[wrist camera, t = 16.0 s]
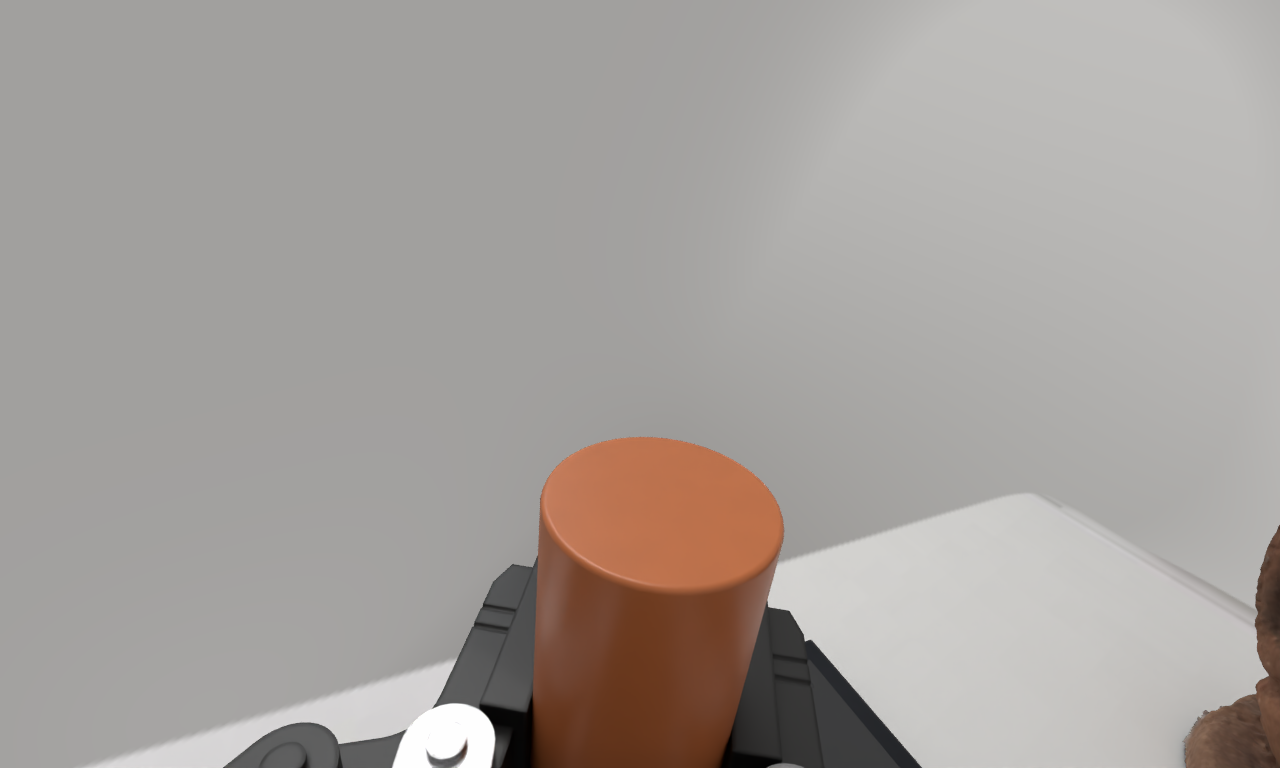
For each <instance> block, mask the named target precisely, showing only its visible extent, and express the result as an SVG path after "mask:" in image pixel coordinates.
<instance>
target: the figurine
mask: <svg viewBox="0 0 1280 768" xmlns="http://www.w3.org/2000/svg"><path fill="white" fill-rule="evenodd" d="M1260 570H1261V573H1260V576H1259V578H1258V586H1257V590H1258V591H1257V593H1256V604H1255V606H1256V609H1257V611H1258V615H1257V617H1256V619H1255V622H1256V623H1255V627H1256V629H1257V640H1258V643H1257V652H1258V655H1259V658H1260V660H1261V662H1262V665H1263V667H1264V668H1265V670H1266V671H1267V673H1268V674H1269V676H1268V677H1266V678H1264V679H1262V680H1260V681H1259V682H1258V683H1257V684H1256V691H1257V693H1256V694H1253V695H1248V696H1245V697H1243V698H1241V699H1239V700H1237V701H1236V702H1234V704H1233V705H1231V706H1223V707H1222V706H1220V707H1219V709H1218V710H1217V711H1211V712H1207V711H1206V710H1205V711H1204V712H1203V715H1202V717H1201V718H1199V717H1198V721H1196V724H1194V725H1195V726H1193V727H1192V729H1191V732H1189V733H1190V734H1189V735H1188V736H1187V737H1186V738H1185V740H1184V741H1183V742H1184V743H1185V747H1186V748H1185V750H1186V752H1185V755H1186V759H1185V763H1186V764H1187V765H1186V768H1280V525H1279V527H1278V530H1277V532H1276V534H1275V535H1274V536H1273V538H1272V540H1271V542H1270V544H1269V546H1268V548H1267V551H1266V554H1265V558H1264V562H1263V564H1262V567H1261V569H1260Z"/></svg>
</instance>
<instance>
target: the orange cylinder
mask: <svg viewBox="0 0 1280 768" xmlns="http://www.w3.org/2000/svg"><path fill="white" fill-rule="evenodd" d="M783 539H784V524H783V518H782V515H781V512H780V508H779V506H778V504H777V502H776V500H775V498H774V496H773V495H772V493H771V492H770V491H769V489H768V488H767V487H766V486H765V485H764V483H763V482H762V481H761V480H760V479H759V478H758V477H756V476H755V475H754V474H753V473H752V472H750V471H749V470H748V469H746V468H745V467H743V466H742V465H741V464H739V463H737V462H736V461H734V460H732V459H730V458H728V457H726V456H724V455H722V454H720V453H718V452H715V451H713V450H710V449H708V448H705V447H702V446H699V445H695V444H691V443H687V442H683V441H678V440H672V439H665V438H655V437H654V438H653V437H630V438H621V439H614V440H609V441H604V442H601V443H597V444H594V445H591V446H588V447H586V448H583V449H581V450H579V451H577V452H575V453H574V454H572V455H570V456H569V457H567V458H566V459H565V460H563V461H562V462H561V463H560V464H559V465H558V466H557V467H556V468H555V469H554V470H553V472H552V473H551V474H550V476H549V477H548V479H547V481H546V483H545V485H544V487H543V490H542V494H541V498H540V521H539V546H538V547H539V548H538V572H537V598H536V623H535V649H534V675H533V700H532V726H531V752H530V768H721V767H722V763H723V760H724V756H725V752H726V749H727V745H728V741H729V738H730V734H731V730H732V727H733V723H734V720H735V716H736V713H737V709H738V705H739V702H740V698H741V694H742V691H743V687H744V683H745V679H746V676H747V672H748V668H749V665H750V661H751V657H752V654H753V650H754V646H755V643H756V639H757V635H758V632H759V628H760V624H761V621H762V617H763V613H764V610H765V606H766V602H767V599H768V595H769V591H770V588H771V584H772V580H773V577H774V573H775V569H776V566H777V562H778V558H779V555H780V551H781V547H782V543H783Z"/></svg>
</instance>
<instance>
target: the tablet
mask: <svg viewBox="0 0 1280 768" xmlns="http://www.w3.org/2000/svg"><path fill="white" fill-rule="evenodd" d="M805 646H806V653H807V659H808V661H807V665H809V672H810V678H811V687H812V691H813V697H814V703H815V710H816V716H817V723H818V729H819V735H820V742H821V748H822V754H823V761H824V767H825V768H922V767H921V766H920V765H919V764H918V763H917V761H916V760H915V759H914V758H913V757H912V756H911V755H910V753H909V752H908V751H907V750H906V749H905V748H904V746H903V745H902V744H901V743H900V742H899V741H898V739H897V738H896V737H895V736H894V735H893V734H892V733H891V731H890V730H889V729H888V728H887V727H886V726H885V724H884V723H883V722H882V721H881V720H880V719H879V717H878V716H877V715H876V714H875V713H874V712H873V711H872V709H871V708H870V707H869V706H868V705H867V704H866V702H865V701H864V700H863V699H862V698H861V697H860V696H859V694H858V693H857V692H856V691H855V690H854V689H853V687H852V686H851V685H850V684H849V683H848V682H847V680H846V679H845V678H844V677H843V676H842V675H841V674H840V672H839V671H838V670H837V669H836V668H835V667H834V665H833V664H832V663H831V662H830V661H829V660H828V658H827V657H826V656H825V655H824V654H823V653H822V652H821V650H820V649H819V648H818V647H817V646H816V645H815V643H814V642H813V641H812V640H808V641H806V642H805Z"/></svg>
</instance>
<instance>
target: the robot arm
mask: <svg viewBox="0 0 1280 768" xmlns="http://www.w3.org/2000/svg"><path fill="white" fill-rule="evenodd" d="M537 572H538V556H537V558H536V561H535V564H534V566H533V568H532V567H526V566H520V565H514V564H512V565H511V566H510V567H509V568H508V569H507V570H506V571H505V572H503V573H502V574H501V575H500V576H499V577H498V578H497V579H496V580H495V581H494V582H493V584H492V586H491V588H490V590H489V593H488V594H487V597H486V599H485V601H484V603H483V607H482V608H481V609H480V612H479V614H478V616H477V618H476V620H475V623H474V627H472V629H471V631H470V633H469V635H468V637H467V639H466V642H465V644H464V646H463V648H462V650H461V652H460V655H459V657H458V659H457V661H456V663H455V665H454V667H453V670H452V672H451V674H450V676H449V678H448V680H447V682H446V685H445V687H444V689H443V691H442V693H441V695H440V697H439V699H438V701H437V703H436V704H435V705H434V707H433V708H432V709H431V710H429V711H428V712H426V713H424V714H423V715H421V716H420V717H419V718H418V719H417V720H415V721H414V722H413V723H412V724H411V726H410V727H409V728H408V729H406V730H404V731H402V732H400V733H397V734H394V735H392V736H388V737H383V738H378V739H371V740H364V741H358V742H351V743H344V744H338V741H337V739H336V737H335V735H334V734H333V733H332V732H331V731H330V730H329V729H327V728H326V727H324V726H322V725H319V724H315V723H295V724H290V725H287V726H284V727H281V728H279V729H276V730H274V731H272V732H270V733H268V734H267V735H265V736H263V737H262V738H260V739H259V740H258V741H256V742H255V743H254V744H252V745H251V746H250V747H249V748H247V749H246V750H245V751H244V752H242V753H241V754H240V755H239V756H237V757H236V758H235V759H234V760H232V761H231V762H230V763H228V764H227V765H226V766H225V767H223V768H530V752H531V726H532V700H533V675H534V649H535V623H536V598H537ZM807 661H808V659H807V653H806V646H805V640H804V634H803V633H802V631H801V629H800V628H799V626H798V624H797V623H796V621H795V620H794V618H793V616H792V615H791V613H790V611H787V610H781V609H775V608H769V607H768V602H766V606H765V610H764V613H763V617H762V621H761V624H760V628H759V632H758V635H757V639H756V643H755V646H754V650H753V654H752V657H751V661H750V665H749V668H748V672H747V676H746V679H745V683H744V687H743V691H742V694H741V698H740V702H739V705H738V709H737V713H736V716H735V720H734V723H733V727H732V730H731V734H730V738H729V741H728V745H727V749H726V752H725V756H724V760H723V763H722V767H721V768H825V767H824V761H823V754H822V748H821V742H820V735H819V729H818V723H817V716H816V710H815V703H814V697H813V691H812V687H811V678H810V672H809V665H807Z"/></svg>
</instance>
